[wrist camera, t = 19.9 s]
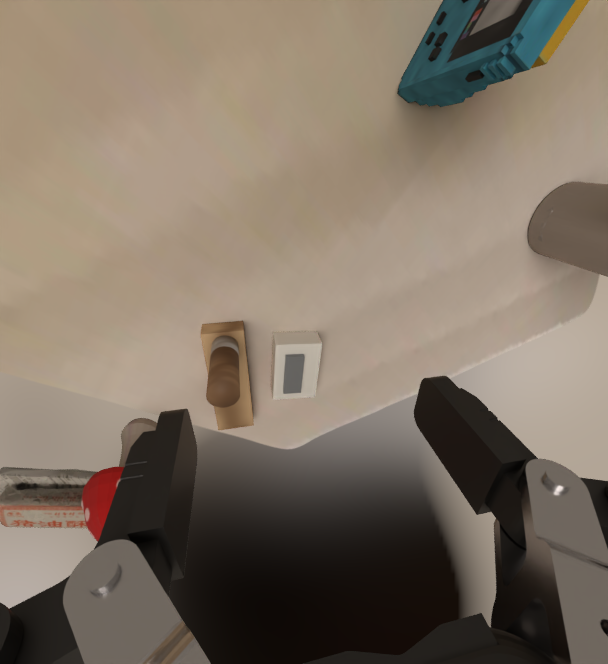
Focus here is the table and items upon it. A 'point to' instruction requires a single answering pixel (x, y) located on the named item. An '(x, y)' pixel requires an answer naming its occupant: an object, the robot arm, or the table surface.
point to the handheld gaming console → (484, 46)
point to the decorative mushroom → (109, 480)
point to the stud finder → (295, 364)
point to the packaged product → (42, 497)
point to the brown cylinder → (224, 372)
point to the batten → (242, 408)
